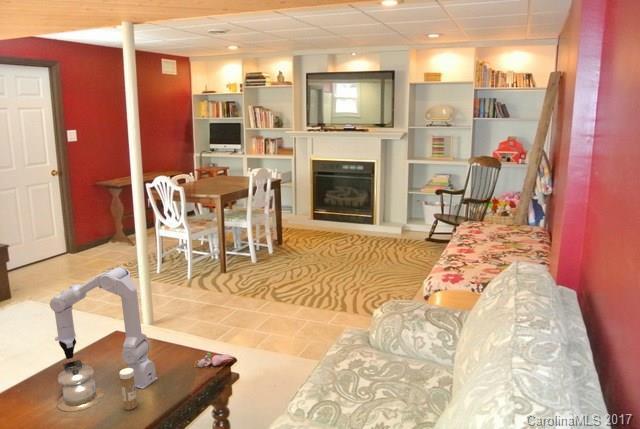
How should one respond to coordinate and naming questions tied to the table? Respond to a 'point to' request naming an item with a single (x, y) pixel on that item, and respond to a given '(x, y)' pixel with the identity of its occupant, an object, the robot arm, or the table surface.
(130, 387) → the sprinkles bottle
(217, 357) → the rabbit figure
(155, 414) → the table surface
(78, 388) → the cooker pot
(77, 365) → the cooker lid
